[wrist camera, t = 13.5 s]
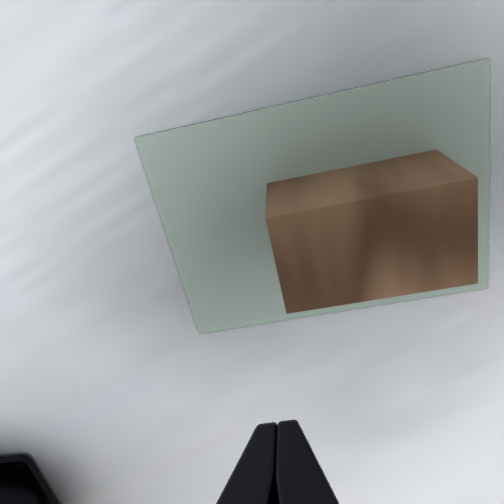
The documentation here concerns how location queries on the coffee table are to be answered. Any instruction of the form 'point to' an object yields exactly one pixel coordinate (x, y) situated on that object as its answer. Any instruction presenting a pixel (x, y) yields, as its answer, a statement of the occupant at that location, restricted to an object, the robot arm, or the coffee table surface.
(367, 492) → the coffee table surface
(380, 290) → the walnut block
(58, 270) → the coffee table surface
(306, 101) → the pale green flat panel
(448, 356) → the coffee table surface
